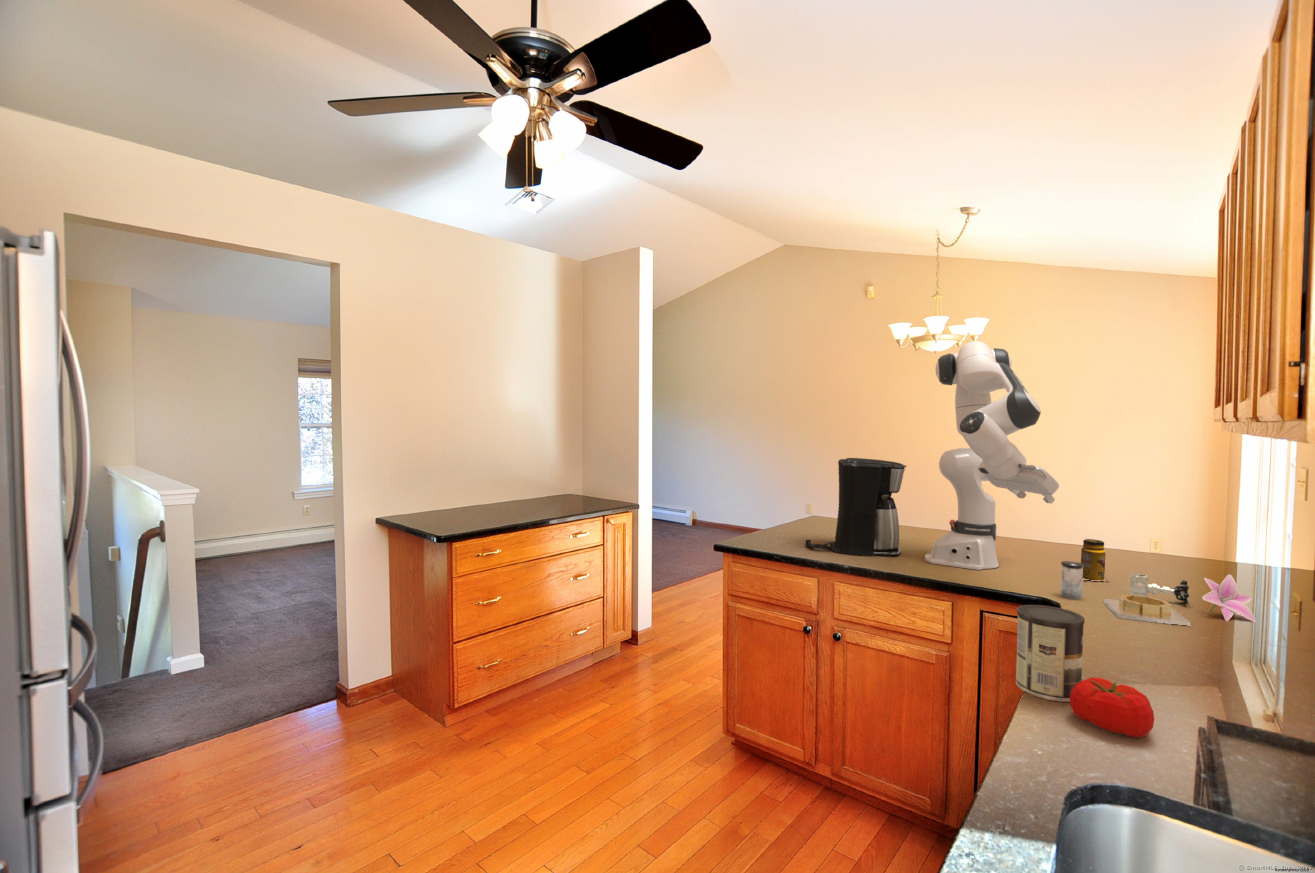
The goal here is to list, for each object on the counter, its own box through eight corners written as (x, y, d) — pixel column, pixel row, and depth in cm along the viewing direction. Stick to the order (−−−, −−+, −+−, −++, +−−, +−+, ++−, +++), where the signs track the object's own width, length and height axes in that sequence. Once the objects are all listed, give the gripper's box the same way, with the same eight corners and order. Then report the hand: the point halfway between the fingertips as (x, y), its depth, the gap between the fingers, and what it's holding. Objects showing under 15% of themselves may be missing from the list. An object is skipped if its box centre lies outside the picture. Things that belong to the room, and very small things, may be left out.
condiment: (1111, 582, 183) (1112, 543, 182) (1082, 581, 183) (1083, 542, 183) (1095, 576, 190) (1096, 538, 189) (1067, 575, 191) (1068, 537, 190)
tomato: (1079, 704, 105) (1080, 667, 105) (1160, 729, 97) (1161, 689, 96) (1061, 722, 98) (1062, 683, 98) (1146, 751, 90) (1148, 708, 90)
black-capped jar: (1061, 598, 166) (1063, 564, 166) (1058, 593, 171) (1059, 560, 171) (1084, 600, 164) (1085, 566, 164) (1080, 595, 169) (1081, 562, 168)
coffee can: (1064, 679, 115) (1067, 605, 114) (1093, 705, 104) (1096, 624, 104) (1005, 674, 116) (1008, 602, 116) (1028, 699, 106) (1031, 620, 106)
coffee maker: (915, 556, 214) (917, 461, 212) (830, 560, 207) (833, 462, 206) (878, 542, 236) (881, 456, 235) (801, 545, 229) (803, 457, 228)
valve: (1130, 600, 165) (1188, 608, 159) (1131, 576, 165) (1189, 583, 158) (1127, 594, 171) (1183, 601, 164) (1128, 571, 170) (1184, 577, 164)
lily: (1190, 619, 153) (1212, 592, 148) (1180, 591, 162) (1201, 564, 157) (1248, 640, 149) (1273, 613, 144) (1235, 610, 158) (1258, 583, 153)
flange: (1118, 617, 150) (1118, 604, 150) (1103, 602, 163) (1104, 589, 163) (1190, 626, 144) (1190, 612, 144) (1169, 609, 157) (1169, 596, 157)
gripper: (1045, 457, 152) (1077, 495, 154) (986, 452, 172) (1015, 486, 174) (1029, 475, 151) (1061, 513, 154) (972, 468, 171) (1001, 502, 174)
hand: (1036, 499), depth 164 cm, fingers open, 8 cm apart
